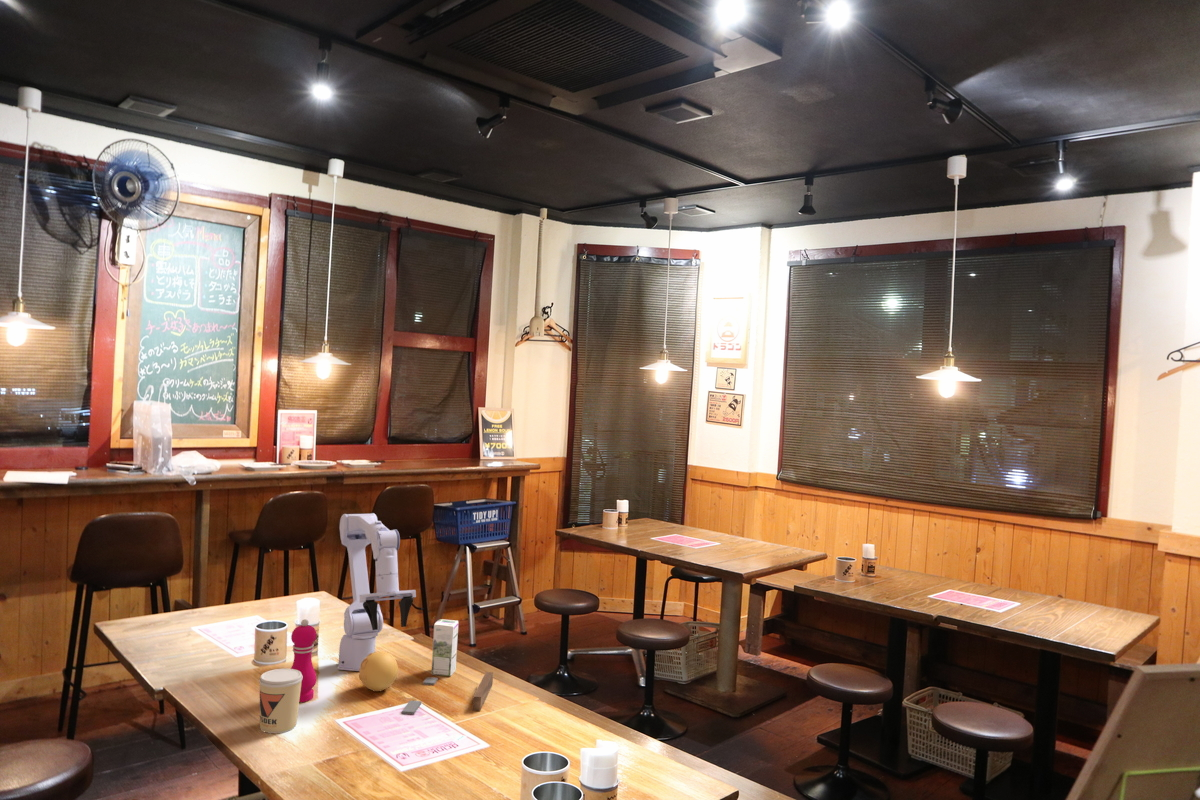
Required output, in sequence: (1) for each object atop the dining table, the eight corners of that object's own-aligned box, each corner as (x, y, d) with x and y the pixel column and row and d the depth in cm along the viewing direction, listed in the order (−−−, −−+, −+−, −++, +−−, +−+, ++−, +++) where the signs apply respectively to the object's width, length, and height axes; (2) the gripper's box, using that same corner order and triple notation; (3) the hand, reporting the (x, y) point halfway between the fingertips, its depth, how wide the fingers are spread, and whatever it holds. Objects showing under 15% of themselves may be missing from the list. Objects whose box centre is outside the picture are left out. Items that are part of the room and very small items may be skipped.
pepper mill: (305, 705, 193) (309, 624, 194) (278, 701, 195) (283, 621, 195) (321, 695, 201) (325, 617, 201) (295, 691, 202) (300, 614, 202)
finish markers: (401, 713, 192) (402, 711, 192) (426, 679, 216) (426, 677, 216) (413, 714, 192) (414, 712, 192) (437, 679, 216) (437, 677, 216)
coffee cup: (247, 728, 179) (250, 676, 179) (281, 715, 187) (283, 665, 187) (275, 738, 174) (278, 685, 174) (308, 724, 183) (311, 673, 183)
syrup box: (456, 670, 224) (459, 619, 224) (450, 677, 218) (453, 625, 219) (437, 668, 225) (439, 618, 225) (430, 675, 219) (433, 623, 219)
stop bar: (472, 710, 196) (473, 696, 196) (485, 684, 214) (485, 671, 214) (480, 710, 196) (481, 697, 196) (492, 685, 214) (493, 672, 214)
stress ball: (400, 693, 207) (398, 660, 214) (397, 674, 201) (394, 640, 208) (361, 701, 205) (360, 667, 212) (357, 682, 198) (356, 647, 205)
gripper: (364, 575, 200) (366, 630, 197) (418, 571, 208) (421, 624, 205) (356, 578, 206) (358, 632, 202) (409, 574, 214) (412, 626, 210)
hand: (389, 628), depth 204 cm, fingers open, 7 cm apart
